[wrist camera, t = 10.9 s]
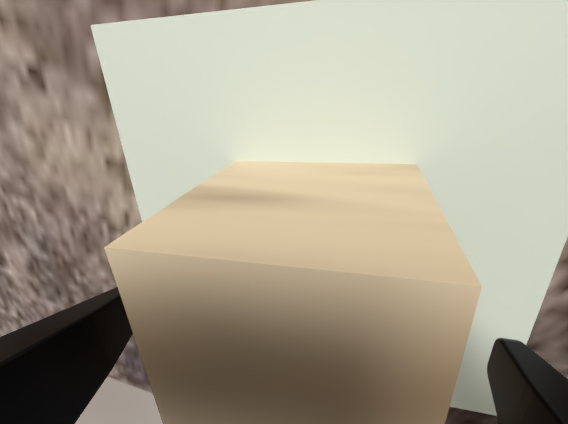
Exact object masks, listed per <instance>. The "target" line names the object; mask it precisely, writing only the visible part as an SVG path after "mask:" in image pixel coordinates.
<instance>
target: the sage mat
mask: <svg viewBox="0 0 568 424" xmlns="http://www.w3.org/2000/svg"><path fill="white" fill-rule="evenodd" d="M91 29H92V33H93V37H94V41H95V44H96V48H97V52H98V56H99V60H100V63H101V67H102V71H103V75H104V79H105V82H106V86H107V90H108V94H109V98H110V101H111V105H112V109H113V113H114V117H115V120H116V124H117V128H118V132H119V136H120V139H121V143H122V147H123V151H124V155H125V158H126V162H127V166H128V170H129V174H130V177H131V181H132V185H133V189H134V193H135V196H136V200H137V204H138V208H139V212H140V215H141V219H142V222H143V221H145V220H146V219H148V218H149V217H151V216H152V215H154V214H155V213H157V212H158V211H160V210H161V209H163V208H164V207H166V206H167V205H169V204H170V203H172V202H173V201H175V200H176V199H178V198H179V197H181V196H182V195H184V194H185V193H187V192H188V191H190V190H191V189H193V188H194V187H196V186H197V185H199V184H200V183H202V182H203V181H205V180H206V179H208V178H209V177H211V176H212V175H214V174H215V173H217V172H218V171H220V170H221V169H223V168H224V167H226V166H227V165H229V164H230V163H232V162H233V161H265V162H320V163H375V164H417V166H418V168H419V169H420V171H421V173H422V175H423V177H424V179H425V181H426V183H427V184H428V186H429V188H430V190H431V192H432V194H433V196H434V198H435V199H436V201H437V203H438V205H439V207H440V209H441V211H442V213H443V214H444V216H445V218H446V220H447V222H448V224H449V226H450V228H451V229H452V231H453V233H454V235H455V237H456V239H457V241H458V243H459V244H460V246H461V248H462V250H463V252H464V254H465V256H466V258H467V259H468V261H469V263H470V265H471V267H472V269H473V271H474V273H475V274H476V276H477V278H478V280H479V282H480V284H481V286H482V288H481V292H480V295H479V299H478V303H477V307H476V310H475V314H474V318H473V321H472V325H471V329H470V333H469V336H468V340H467V344H466V347H465V351H464V355H463V359H462V362H461V366H460V370H459V373H458V377H457V381H456V385H455V388H454V392H453V396H452V399H451V403H450V407H454V408H459V409H464V410H469V411H475V412H480V413H485V414H490V415H495V416H497V414H496V409H495V405H494V401H493V397H492V392H491V388H490V384H489V380H488V375H487V364H488V360H489V357H490V354H491V351H492V348H493V345H494V342H495V340H496V339H497V338H507V339H514V340H519V341H521V342H523V343H524V344H525V345H526V344H527V341H528V339H529V336H530V333H531V331H532V328H533V326H534V323H535V320H536V318H537V315H538V312H539V310H540V307H541V305H542V302H543V299H544V297H545V294H546V291H547V289H548V286H549V284H550V281H551V278H552V276H553V273H554V270H555V268H556V265H557V263H558V260H559V257H560V255H561V252H562V249H563V247H564V244H565V242H566V239H567V236H568V0H316V1H307V2H298V3H289V4H279V5H270V6H261V7H252V8H243V9H234V10H225V11H215V12H206V13H197V14H188V15H179V16H170V17H161V18H151V19H142V20H133V21H124V22H115V23H106V24H97V25H91Z"/></svg>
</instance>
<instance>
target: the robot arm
mask: <svg viewBox="0 0 568 424" xmlns="http://www.w3.org/2000/svg"><path fill="white" fill-rule="evenodd" d="M132 334H133V332H132V329H131V326H130V323H129V320H128V317H127V314H126V311H125V308H124V305H123V302H122V299H121V296H120V293H119V290H118V287H116V288H114V289H112V290H109V291H107V292H105V293H102V294H100V295H98V296H95V297H93V298H91V299H88V300H86V301H84V302H81V303H79V304H77V305H74V306H72V307H70V308H67V309H65V310H63V311H60V312H58V313H56V314H53V315H51V316H49V317H46V318H44V319H42V320H39V321H37V322H35V323H32V324H30V325H28V326H25V327H23V328H21V329H18V330H16V331H14V332H11V333H9V334H7V335H4V336H2V337H0V424H75V422H76V421H77V419H78V418H79V417H80V415H81V413H82V412H83V411H84V409H85V408H86V406H87V405H88V404H89V402H90V401H91V399H92V398H93V396H94V395H95V393H96V392H97V390H98V389H99V388H100V386H101V385H102V383H103V382H104V380H105V379H106V378H107V376H108V374H109V373H110V371H111V370H112V368H113V367H114V365H115V363H116V362H117V360H118V358H119V357H120V355H121V353H122V351H123V350H124V348H125V346H126V344H127V343H128V341H129V339H130V337H131V336H132ZM487 375H488V380H489V384H490V388H491V392H492V397H493V401H494V405H495V409H496V414H497V418H498V422H499V424H568V379H567V378H565V377H564V376H563V375H562V374H561V373H559V372H558V371H557V370H556V369H554V368H553V367H552V366H551V365H550V364H548V363H547V362H546V361H545V360H544V359H542V358H541V357H540V356H539V355H537V354H536V353H535V352H534V351H533V350H531V349H530V348H529V347H528V346H527V345H525V344H524V343H523V342H521V341H519V340H514V339H507V338H497V339H496V340H495V342H494V345H493V348H492V351H491V354H490V357H489V360H488V364H487Z"/></svg>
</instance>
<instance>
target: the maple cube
mask: <svg viewBox="0 0 568 424" xmlns="http://www.w3.org/2000/svg"><path fill="white" fill-rule="evenodd" d="M104 248H105V251H106V254H107V257H108V260H109V263H110V266H111V269H112V272H113V275H114V278H115V281H116V284H117V287H118V290H119V293H120V296H121V299H122V302H123V305H124V308H125V311H126V314H127V317H128V320H129V323H130V326H131V329H132V332H133V335H134V338H135V341H136V344H137V347H138V350H139V353H140V356H141V359H142V362H143V365H144V368H145V371H146V374H147V377H148V380H149V383H150V386H151V389H152V392H153V395H154V398H155V401H156V404H157V407H158V410H159V413H160V416H161V419H162V422H163V424H445V422H446V418H447V414H448V411H449V407H450V403H451V399H452V396H453V392H454V388H455V385H456V381H457V377H458V373H459V370H460V366H461V362H462V359H463V355H464V351H465V347H466V344H467V340H468V336H469V333H470V329H471V325H472V321H473V318H474V314H475V310H476V307H477V303H478V299H479V295H480V292H481V288H482V286H481V284H480V282H479V280H478V278H477V276H476V274H475V273H474V271H473V269H472V267H471V265H470V263H469V261H468V259H467V258H466V256H465V254H464V252H463V250H462V248H461V246H460V244H459V243H458V241H457V239H456V237H455V235H454V233H453V231H452V229H451V228H450V226H449V224H448V222H447V220H446V218H445V216H444V214H443V213H442V211H441V209H440V207H439V205H438V203H437V201H436V199H435V198H434V196H433V194H432V192H431V190H430V188H429V186H428V184H427V183H426V181H425V179H424V177H423V175H422V173H421V171H420V169H419V168H418V166H417V164H375V163H320V162H265V161H233V162H232V163H230V164H229V165H227V166H226V167H224V168H223V169H221V170H220V171H218V172H217V173H215V174H214V175H212V176H211V177H209V178H208V179H206V180H205V181H203V182H202V183H200V184H199V185H197V186H196V187H194V188H193V189H191V190H190V191H188V192H187V193H185V194H184V195H182V196H181V197H179V198H178V199H176V200H175V201H173V202H172V203H170V204H169V205H167V206H166V207H164V208H163V209H161V210H160V211H158V212H157V213H155V214H154V215H152V216H151V217H149V218H148V219H146V220H145V221H143V222H142V223H140V224H139V225H137V226H136V227H134V228H133V229H131V230H130V231H128V232H127V233H125V234H124V235H122V236H121V237H119V238H118V239H116V240H115V241H113V242H112V243H110V244H109V245H107V246H106V247H104Z"/></svg>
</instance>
